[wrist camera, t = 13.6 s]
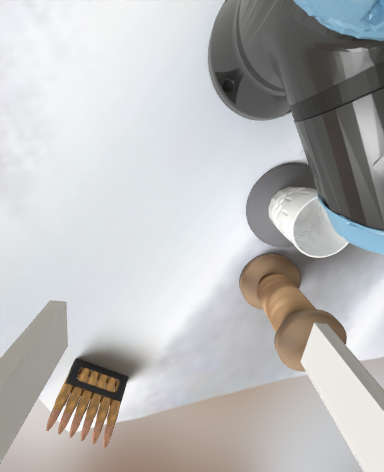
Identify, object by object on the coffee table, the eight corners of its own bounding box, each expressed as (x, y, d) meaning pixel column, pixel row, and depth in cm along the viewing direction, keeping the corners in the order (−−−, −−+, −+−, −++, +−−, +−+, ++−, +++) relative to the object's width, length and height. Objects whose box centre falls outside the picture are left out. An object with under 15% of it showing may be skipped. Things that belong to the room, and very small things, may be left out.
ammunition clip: (72, 364, 47) (38, 432, 36) (76, 357, 47) (42, 424, 35) (124, 383, 49) (108, 453, 38) (128, 377, 49) (113, 445, 37)
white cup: (260, 231, 39) (286, 257, 30) (267, 181, 37) (298, 191, 27) (308, 232, 40) (349, 258, 30) (319, 183, 37) (366, 194, 28)
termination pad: (256, 158, 36) (257, 158, 36) (339, 170, 37) (341, 170, 37) (238, 241, 40) (239, 242, 40) (314, 249, 42) (316, 251, 41)
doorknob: (245, 250, 41) (281, 304, 27) (303, 256, 42) (367, 312, 27) (234, 302, 44) (261, 375, 30) (287, 307, 45) (338, 380, 31)
